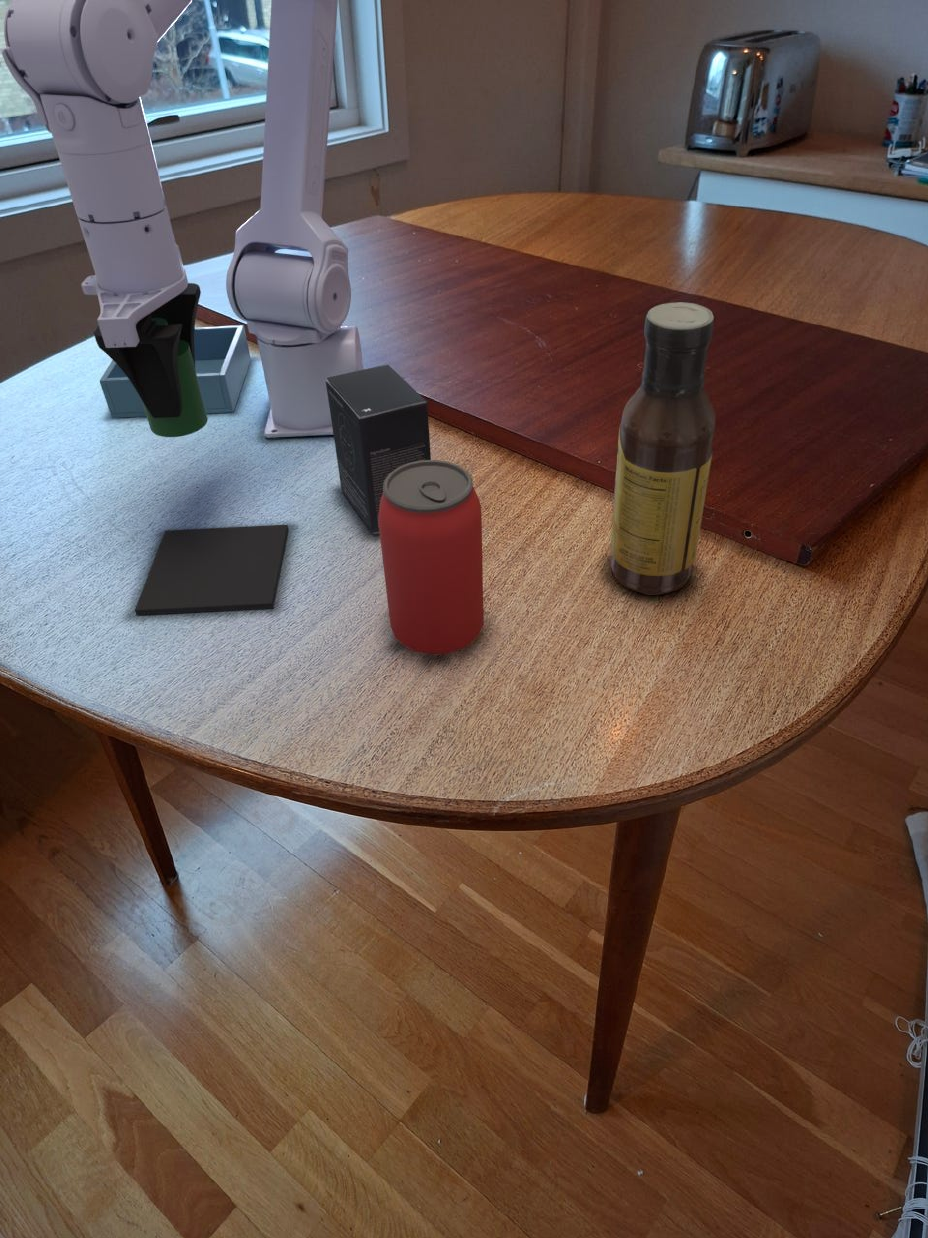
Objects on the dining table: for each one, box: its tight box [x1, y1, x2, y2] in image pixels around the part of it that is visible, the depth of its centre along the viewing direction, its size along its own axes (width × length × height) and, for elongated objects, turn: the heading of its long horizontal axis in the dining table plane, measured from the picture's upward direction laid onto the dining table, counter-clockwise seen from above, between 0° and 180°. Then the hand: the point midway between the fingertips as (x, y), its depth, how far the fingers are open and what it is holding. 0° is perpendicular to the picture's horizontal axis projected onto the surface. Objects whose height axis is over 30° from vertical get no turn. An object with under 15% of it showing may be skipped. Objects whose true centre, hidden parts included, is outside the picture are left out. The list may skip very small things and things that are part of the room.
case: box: [99, 324, 252, 419], centre depth 88 cm, size 12×12×4 cm
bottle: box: [142, 318, 209, 438], centre depth 64 cm, size 4×4×8 cm
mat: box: [134, 524, 289, 616], centre depth 65 cm, size 10×10×1 cm
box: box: [325, 363, 432, 535], centre depth 68 cm, size 8×6×11 cm
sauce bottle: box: [609, 301, 717, 596], centre depth 57 cm, size 6×6×20 cm
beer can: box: [378, 459, 485, 656], centre depth 56 cm, size 7×7×12 cm
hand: (174, 399), depth 65 cm, fingers closed on bottle, 4 cm apart
